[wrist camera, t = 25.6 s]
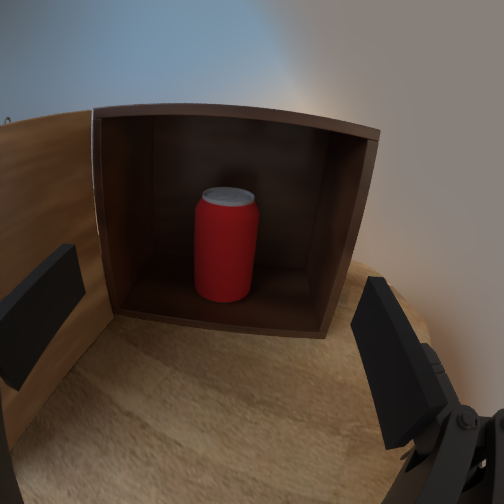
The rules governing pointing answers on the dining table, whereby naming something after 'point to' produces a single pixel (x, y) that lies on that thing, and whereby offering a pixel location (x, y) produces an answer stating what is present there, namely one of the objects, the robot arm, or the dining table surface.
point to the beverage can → (225, 243)
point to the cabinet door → (49, 242)
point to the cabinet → (236, 176)
